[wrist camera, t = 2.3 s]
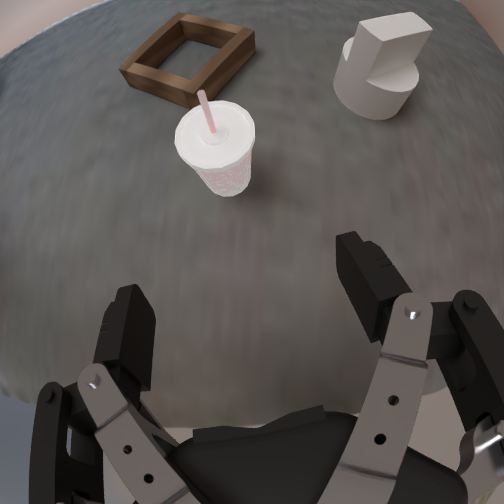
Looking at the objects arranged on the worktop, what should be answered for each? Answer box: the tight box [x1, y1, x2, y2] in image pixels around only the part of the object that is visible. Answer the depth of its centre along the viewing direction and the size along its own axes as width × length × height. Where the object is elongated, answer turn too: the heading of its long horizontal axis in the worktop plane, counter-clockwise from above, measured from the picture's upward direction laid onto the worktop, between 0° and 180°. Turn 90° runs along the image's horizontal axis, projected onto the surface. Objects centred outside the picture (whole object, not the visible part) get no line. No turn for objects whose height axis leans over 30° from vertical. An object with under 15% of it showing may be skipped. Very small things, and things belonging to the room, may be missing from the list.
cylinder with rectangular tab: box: [333, 12, 433, 120], centre depth 24 cm, size 9×9×12 cm
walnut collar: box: [119, 13, 255, 110], centre depth 30 cm, size 12×12×4 cm
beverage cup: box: [175, 90, 255, 197], centre depth 22 cm, size 6×6×14 cm
